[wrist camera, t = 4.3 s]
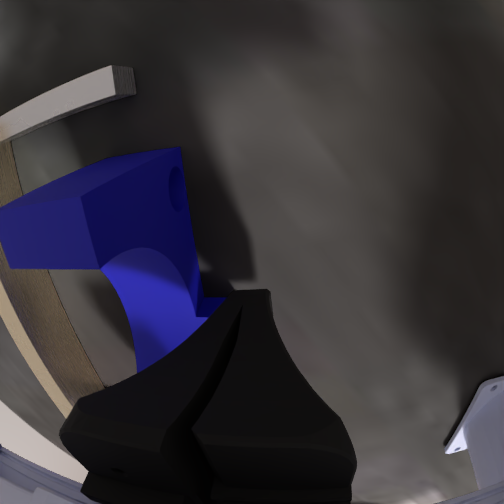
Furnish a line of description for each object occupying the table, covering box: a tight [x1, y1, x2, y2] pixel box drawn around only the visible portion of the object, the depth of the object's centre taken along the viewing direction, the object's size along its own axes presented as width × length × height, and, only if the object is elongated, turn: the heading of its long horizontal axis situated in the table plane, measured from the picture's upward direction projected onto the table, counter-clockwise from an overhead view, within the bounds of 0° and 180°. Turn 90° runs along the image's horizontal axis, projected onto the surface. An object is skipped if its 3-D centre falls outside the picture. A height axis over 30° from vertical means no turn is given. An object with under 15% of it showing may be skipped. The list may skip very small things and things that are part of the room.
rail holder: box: [0, 65, 137, 419], centre depth 12 cm, size 8×18×3 cm, turn 7°
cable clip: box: [0, 147, 227, 373], centre depth 11 cm, size 12×4×6 cm, turn 5°
